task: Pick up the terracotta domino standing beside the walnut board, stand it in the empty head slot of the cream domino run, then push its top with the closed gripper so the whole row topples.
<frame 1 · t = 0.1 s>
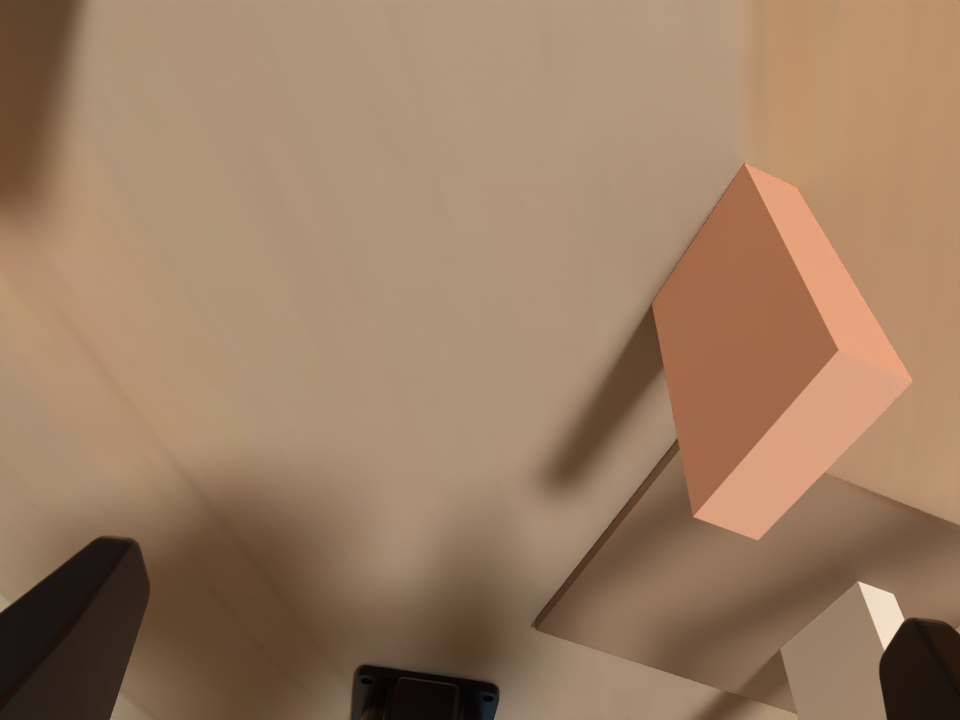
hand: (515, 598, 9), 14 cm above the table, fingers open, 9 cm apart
terracotta domino: (719, 248, 22), on the table
walnut board: (934, 648, 32), on the table
domino 2: (834, 622, 31), resting on walnut board
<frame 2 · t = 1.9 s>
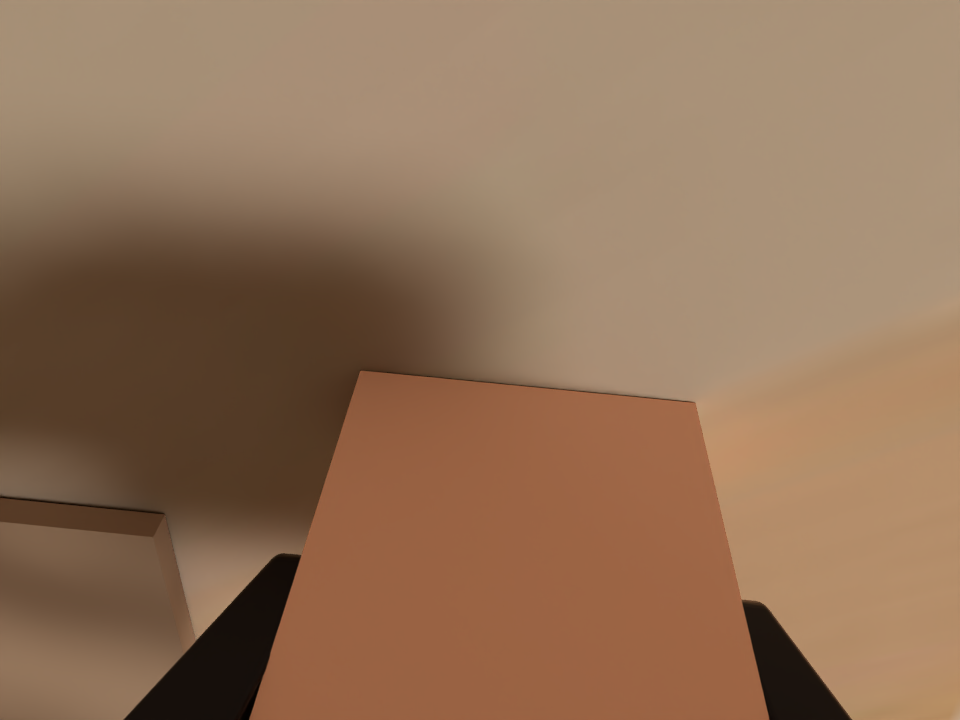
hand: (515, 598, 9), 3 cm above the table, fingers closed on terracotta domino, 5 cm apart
terracotta domino: (521, 428, 12), on the table, touching gripper
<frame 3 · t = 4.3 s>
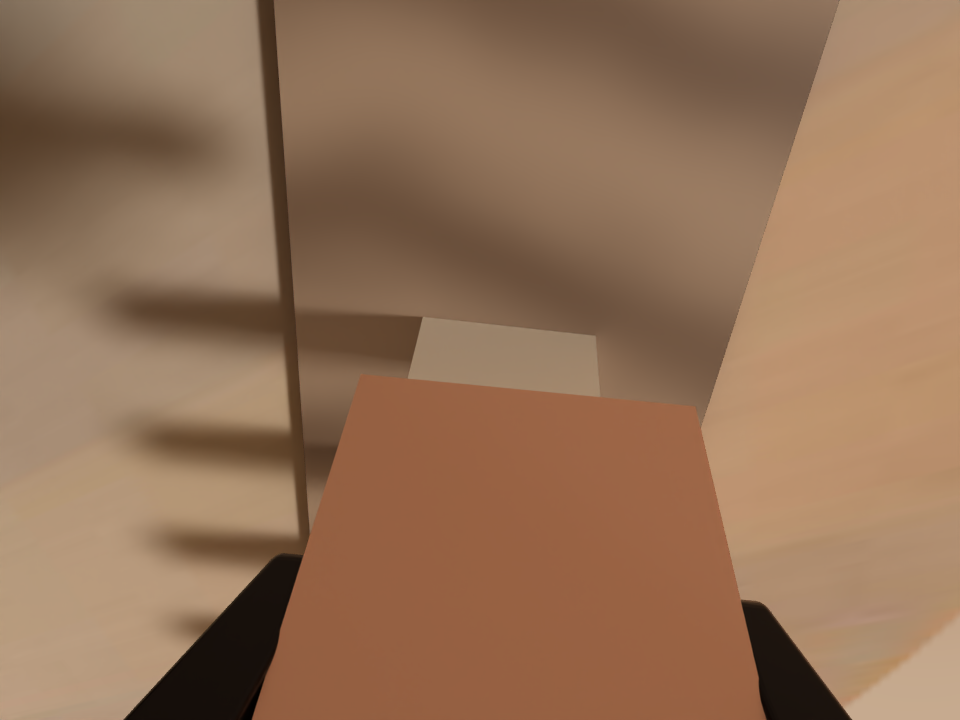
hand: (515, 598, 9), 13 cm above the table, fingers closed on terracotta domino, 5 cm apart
terracotta domino: (522, 432, 12), point 10 cm above the table, touching gripper
walnut board: (491, 465, 26), on the table
domino 2: (506, 349, 22), resting on walnut board
when the fingers open (5 cm above the table, at t = 6.7 s): terracotta domino stays where it is, resting on walnut board.
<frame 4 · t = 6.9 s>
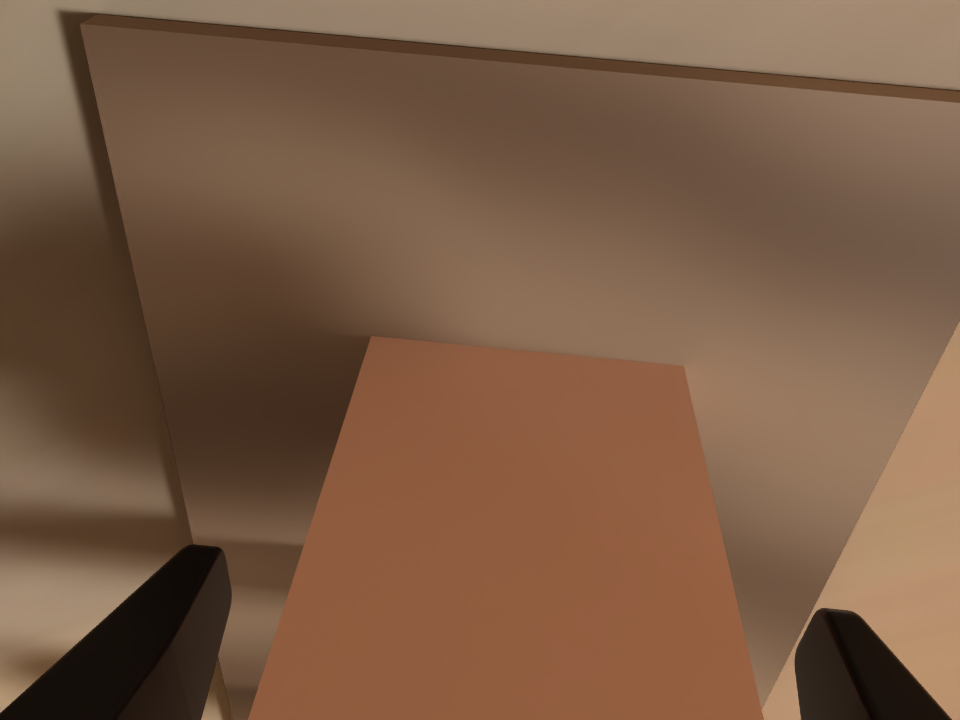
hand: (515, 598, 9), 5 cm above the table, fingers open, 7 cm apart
terracotta domino: (521, 391, 13), resting on walnut board
walnut board: (483, 704, 19), on the table
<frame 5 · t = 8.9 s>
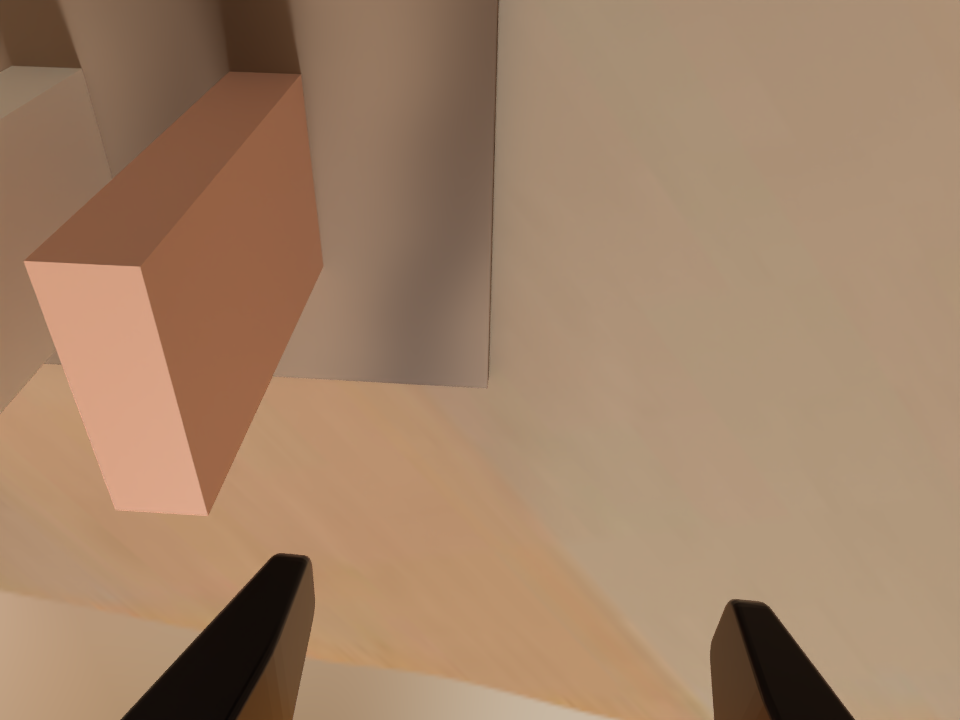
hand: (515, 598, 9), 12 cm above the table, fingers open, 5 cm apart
terracotta domino: (279, 176, 19), resting on walnut board
domino 2: (77, 169, 19), resting on walnut board
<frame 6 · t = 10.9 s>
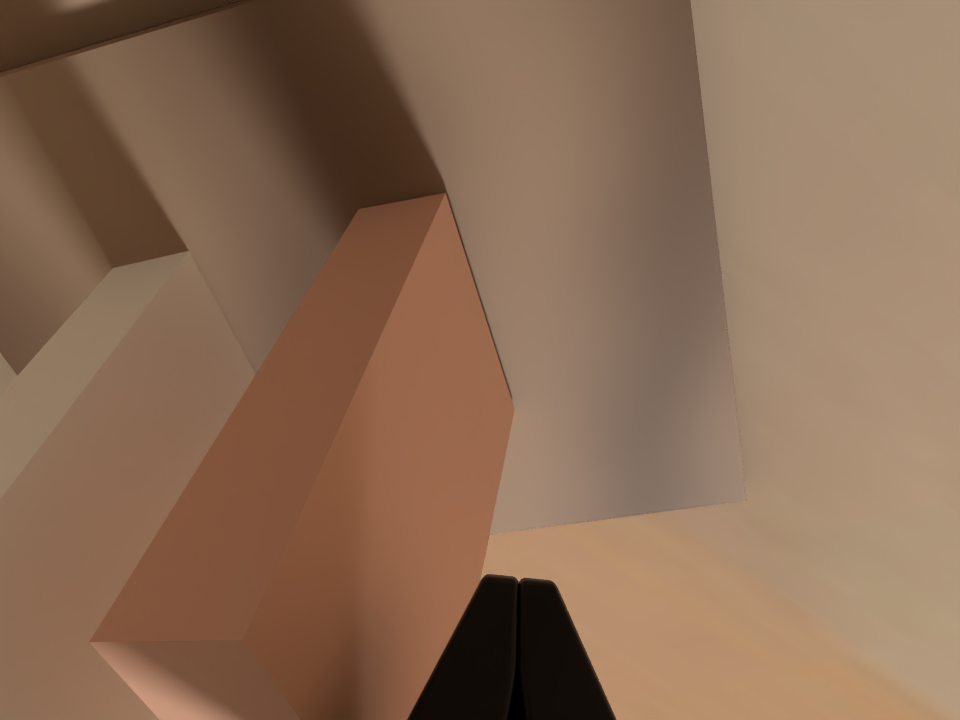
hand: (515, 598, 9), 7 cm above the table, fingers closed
terracotta domino: (442, 316, 15), point 1 cm above the table, tilted 6°, touching gripper, walnut board
walnut board: (14, 388, 17), on the table
domino 2: (209, 362, 16), resting on walnut board
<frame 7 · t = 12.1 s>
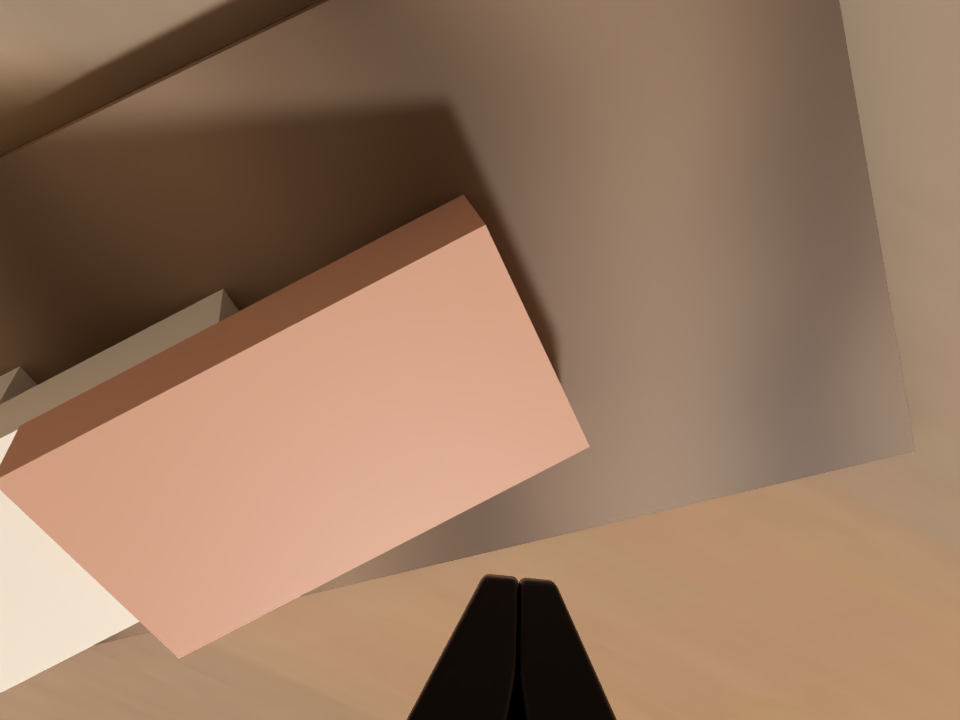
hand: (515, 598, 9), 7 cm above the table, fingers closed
terracotta domino: (529, 325, 14), point 1 cm above the table, tilted 71°, touching domino 2, walnut board
walnut board: (149, 418, 18), on the table
domino 2: (291, 404, 15), point 1 cm above the table, tilted 72°, touching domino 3, terracotta domino, walnut board
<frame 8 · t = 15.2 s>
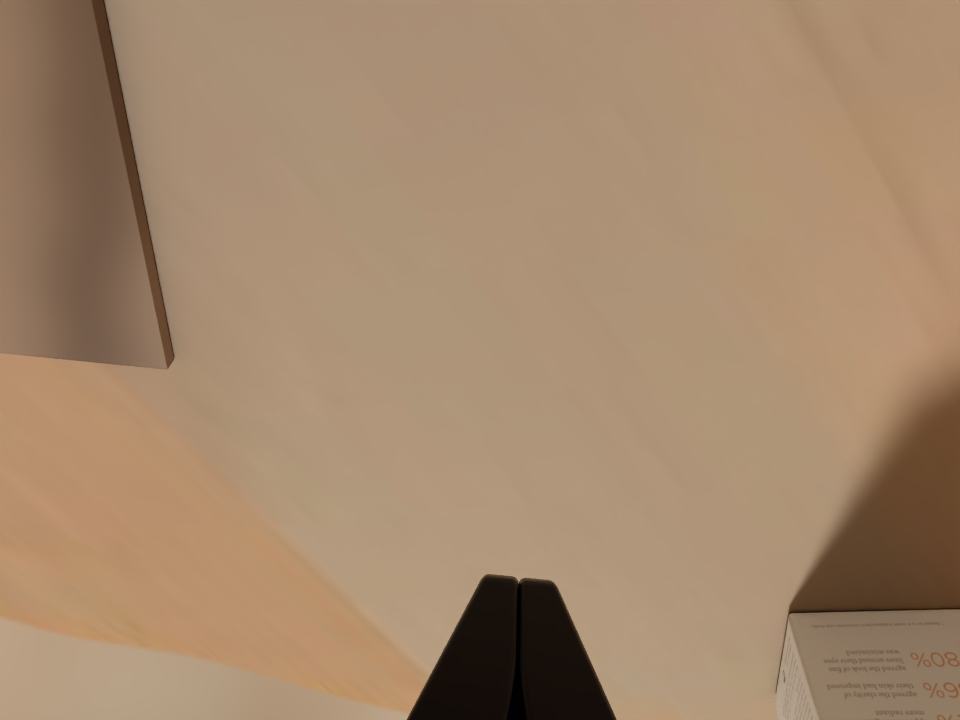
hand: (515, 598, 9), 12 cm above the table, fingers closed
small box: (891, 648, 29), on the table
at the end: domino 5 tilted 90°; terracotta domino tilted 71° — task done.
